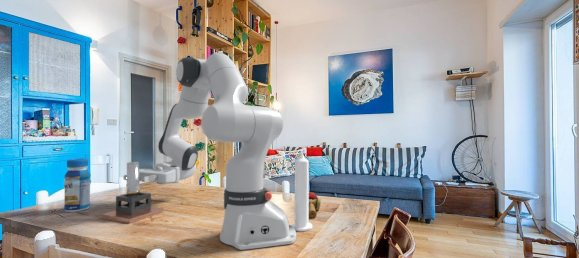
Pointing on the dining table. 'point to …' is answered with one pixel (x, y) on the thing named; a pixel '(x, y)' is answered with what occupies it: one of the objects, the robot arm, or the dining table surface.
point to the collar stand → (132, 209)
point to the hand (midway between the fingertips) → (133, 178)
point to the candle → (301, 194)
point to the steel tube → (133, 181)
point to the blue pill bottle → (77, 185)
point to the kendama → (313, 204)
